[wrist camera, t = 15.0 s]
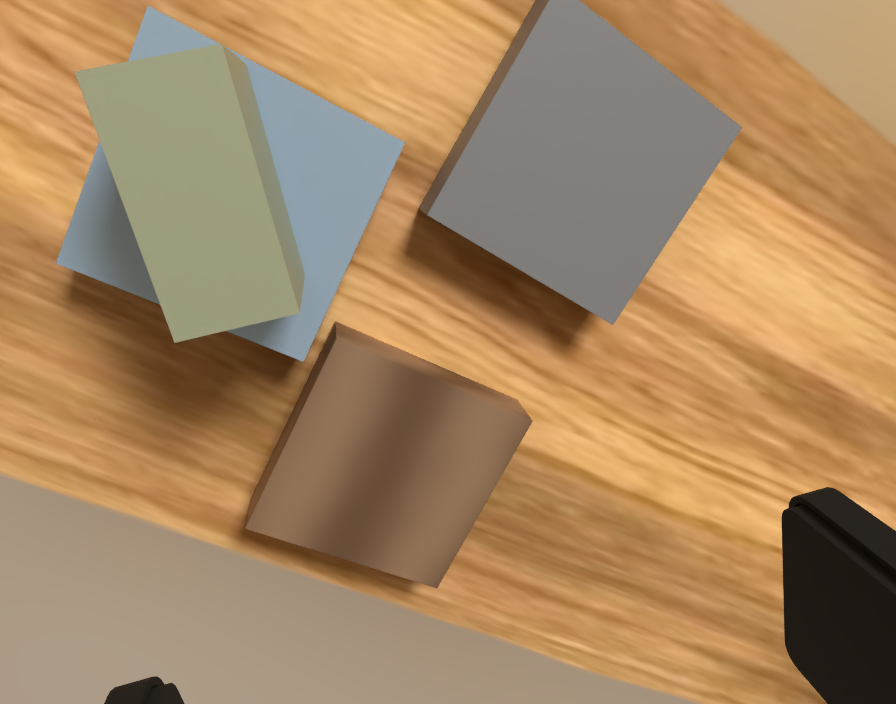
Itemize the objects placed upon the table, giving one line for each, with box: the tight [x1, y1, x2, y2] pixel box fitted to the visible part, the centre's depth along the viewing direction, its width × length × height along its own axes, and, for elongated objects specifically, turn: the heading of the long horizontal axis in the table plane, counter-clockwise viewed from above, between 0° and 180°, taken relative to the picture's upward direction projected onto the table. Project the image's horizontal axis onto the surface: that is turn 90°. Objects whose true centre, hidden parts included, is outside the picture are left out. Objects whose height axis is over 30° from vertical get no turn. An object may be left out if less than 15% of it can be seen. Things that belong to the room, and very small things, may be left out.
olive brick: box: [75, 44, 305, 343], centre depth 22 cm, size 4×8×6 cm, turn 11°
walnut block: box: [245, 321, 532, 588], centre depth 31 cm, size 10×10×3 cm
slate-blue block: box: [56, 6, 405, 362], centre depth 26 cm, size 10×10×3 cm
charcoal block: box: [419, 0, 742, 325], centre depth 28 cm, size 10×10×3 cm
